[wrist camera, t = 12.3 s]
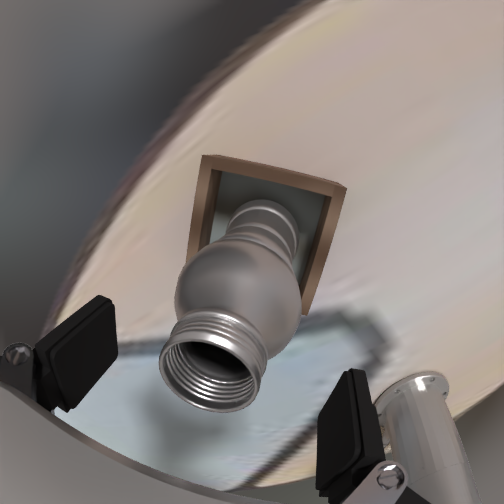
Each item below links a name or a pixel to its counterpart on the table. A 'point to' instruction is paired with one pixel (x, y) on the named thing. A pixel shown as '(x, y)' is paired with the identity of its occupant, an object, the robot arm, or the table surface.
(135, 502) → the robot arm
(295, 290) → the silver rounded threaded piece
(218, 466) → the table surface
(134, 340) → the table surface
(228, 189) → the square wooden frame
